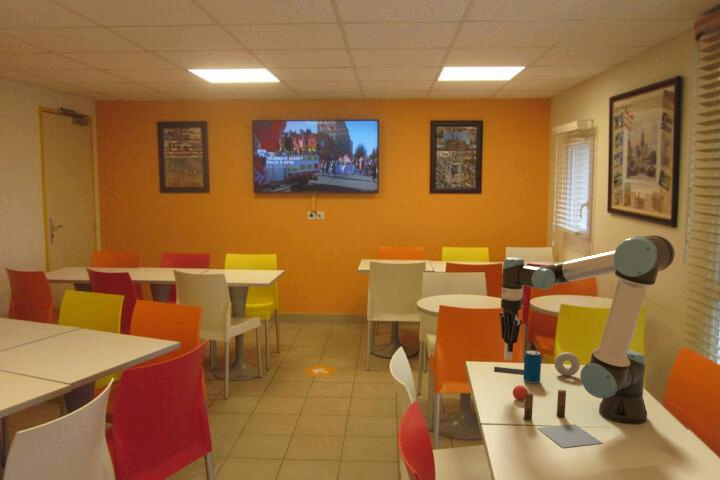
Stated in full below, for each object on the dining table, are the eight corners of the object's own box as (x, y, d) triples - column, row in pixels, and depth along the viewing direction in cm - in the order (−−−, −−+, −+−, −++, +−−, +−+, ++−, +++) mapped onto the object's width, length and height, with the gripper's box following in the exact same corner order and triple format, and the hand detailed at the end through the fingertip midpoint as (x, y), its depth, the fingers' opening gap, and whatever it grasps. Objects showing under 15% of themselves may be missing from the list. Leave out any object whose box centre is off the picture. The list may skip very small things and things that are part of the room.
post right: (566, 417, 197) (567, 392, 196) (559, 418, 197) (560, 392, 196) (561, 414, 200) (563, 389, 199) (555, 415, 199) (556, 389, 198)
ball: (530, 402, 210) (531, 387, 209) (517, 403, 209) (517, 389, 208) (522, 396, 215) (523, 382, 215) (509, 398, 214) (510, 383, 213)
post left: (533, 420, 194) (534, 394, 193) (526, 421, 193) (527, 395, 192) (529, 417, 197) (530, 392, 196) (522, 418, 196) (523, 392, 195)
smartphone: (528, 375, 239) (493, 371, 243) (528, 376, 239) (493, 373, 243) (528, 370, 245) (494, 366, 249) (528, 371, 246) (494, 367, 249)
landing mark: (602, 443, 178) (602, 442, 178) (562, 448, 175) (562, 447, 175) (574, 424, 192) (574, 424, 192) (537, 428, 188) (537, 427, 188)
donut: (578, 375, 240) (580, 352, 239) (579, 378, 237) (581, 354, 235) (553, 373, 242) (554, 350, 241) (554, 375, 239) (555, 352, 238)
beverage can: (540, 384, 228) (542, 355, 227) (523, 383, 230) (525, 354, 228) (539, 379, 235) (540, 350, 233) (522, 377, 236) (524, 349, 235)
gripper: (494, 295, 223) (491, 354, 225) (511, 302, 210) (507, 365, 213) (511, 294, 224) (508, 353, 227) (529, 302, 212) (525, 364, 215)
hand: (508, 359), depth 220 cm, fingers closed
